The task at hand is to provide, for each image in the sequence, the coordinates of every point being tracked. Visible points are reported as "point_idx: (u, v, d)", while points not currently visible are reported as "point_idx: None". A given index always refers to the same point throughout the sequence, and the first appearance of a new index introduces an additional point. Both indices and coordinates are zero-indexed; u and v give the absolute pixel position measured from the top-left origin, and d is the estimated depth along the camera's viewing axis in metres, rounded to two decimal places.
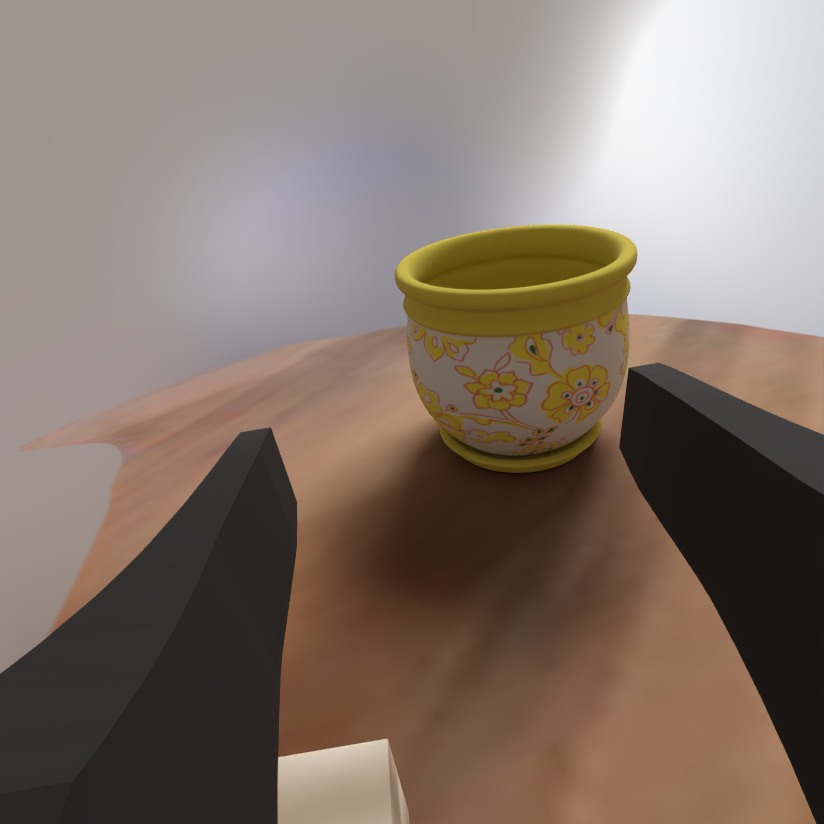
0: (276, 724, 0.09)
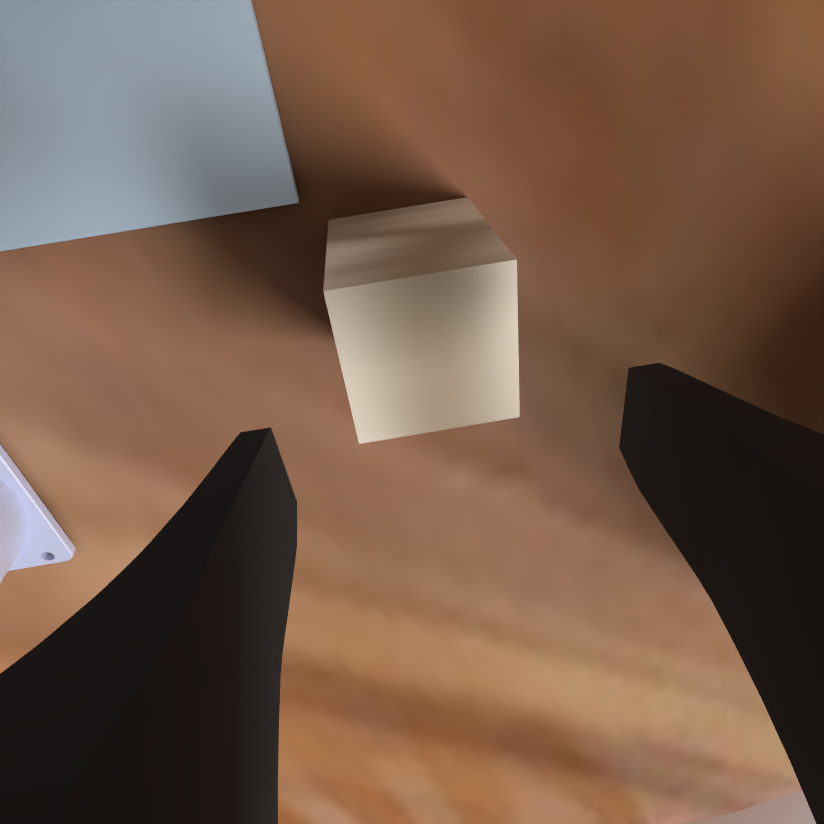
0: (276, 723, 0.09)
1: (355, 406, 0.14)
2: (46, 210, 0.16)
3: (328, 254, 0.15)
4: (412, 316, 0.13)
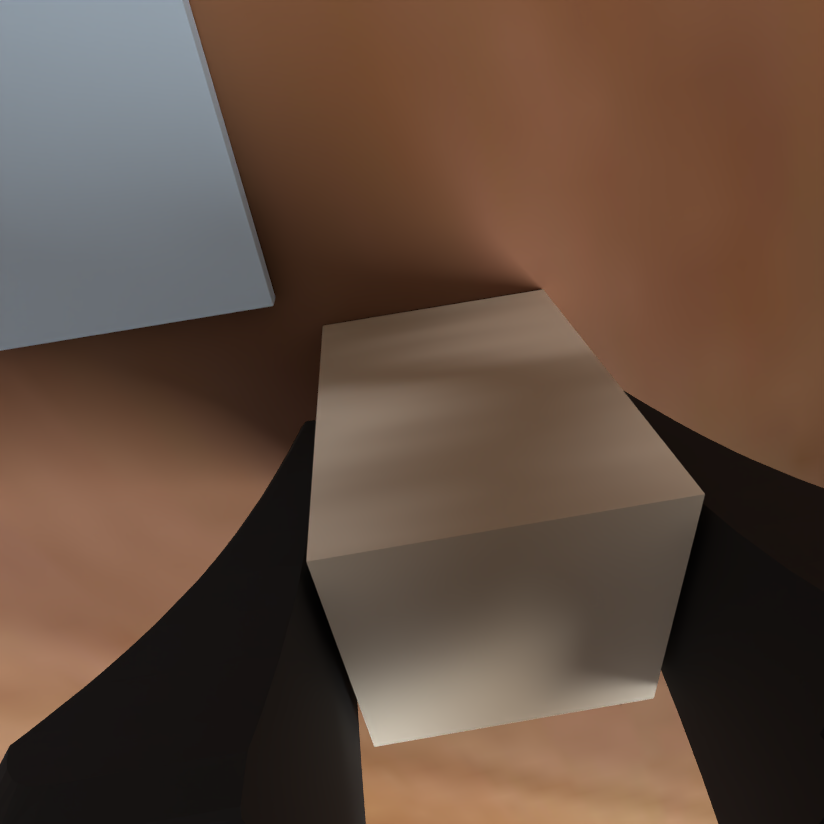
0: (356, 709, 0.09)
1: (367, 706, 0.08)
2: None
3: (320, 425, 0.08)
4: (483, 587, 0.07)
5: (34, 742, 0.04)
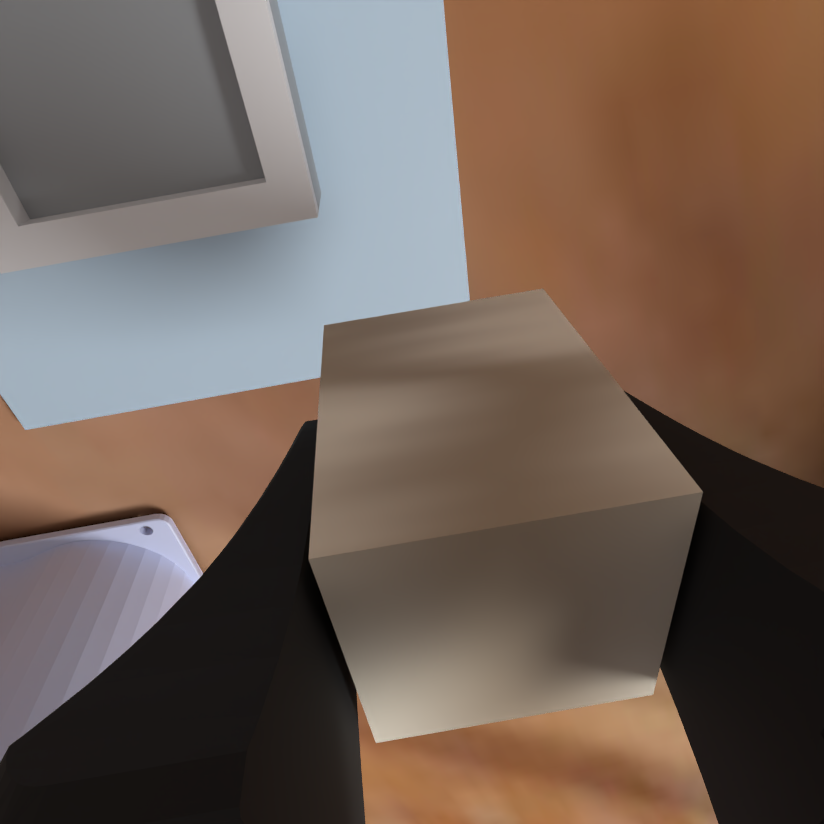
0: (356, 709, 0.09)
1: (369, 703, 0.08)
2: (264, 363, 0.19)
3: (321, 424, 0.08)
4: (484, 584, 0.07)
5: (33, 743, 0.04)
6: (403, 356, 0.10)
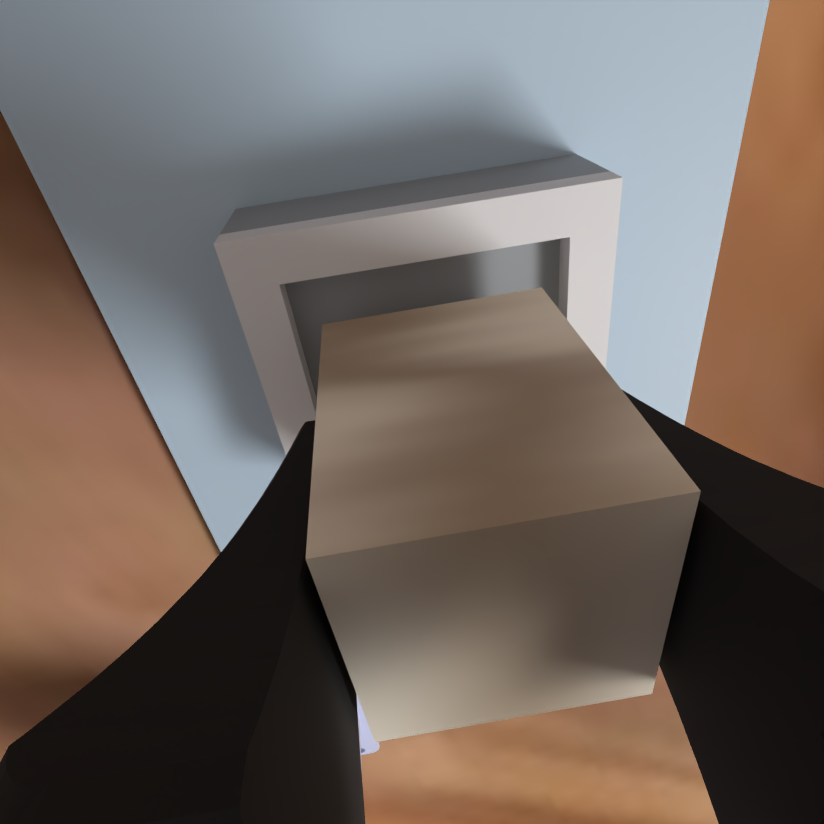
0: (355, 710, 0.09)
1: (368, 702, 0.08)
2: None
3: (319, 424, 0.08)
4: (482, 585, 0.07)
5: (33, 743, 0.04)
6: (401, 355, 0.10)
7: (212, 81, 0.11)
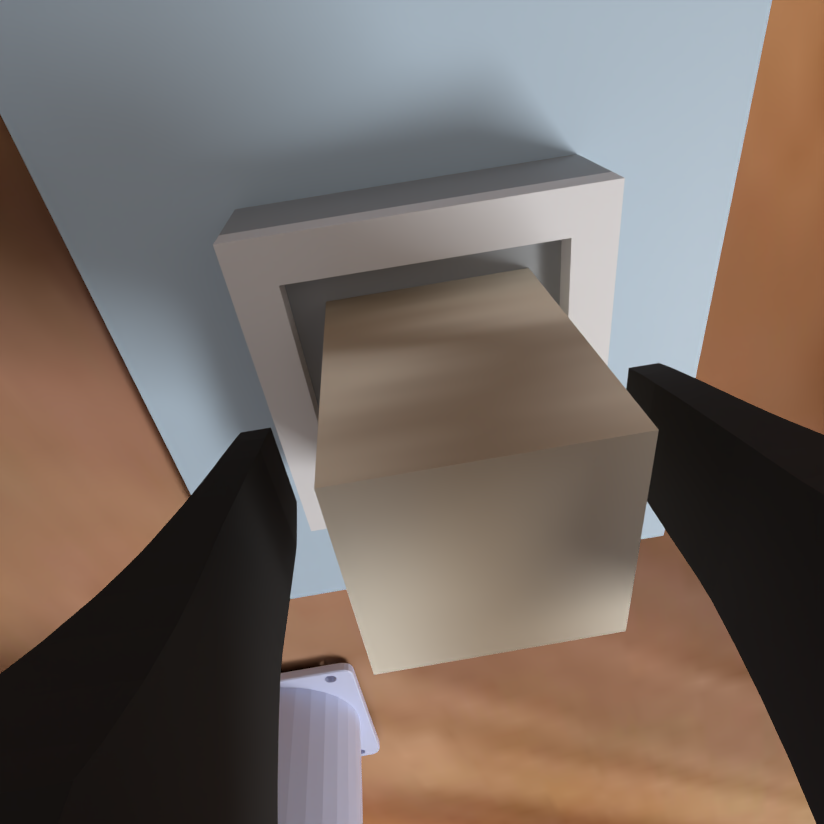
0: (276, 723, 0.09)
1: (368, 633, 0.09)
2: None
3: (324, 383, 0.09)
4: (468, 517, 0.08)
5: None
6: (399, 326, 0.10)
7: (211, 81, 0.11)
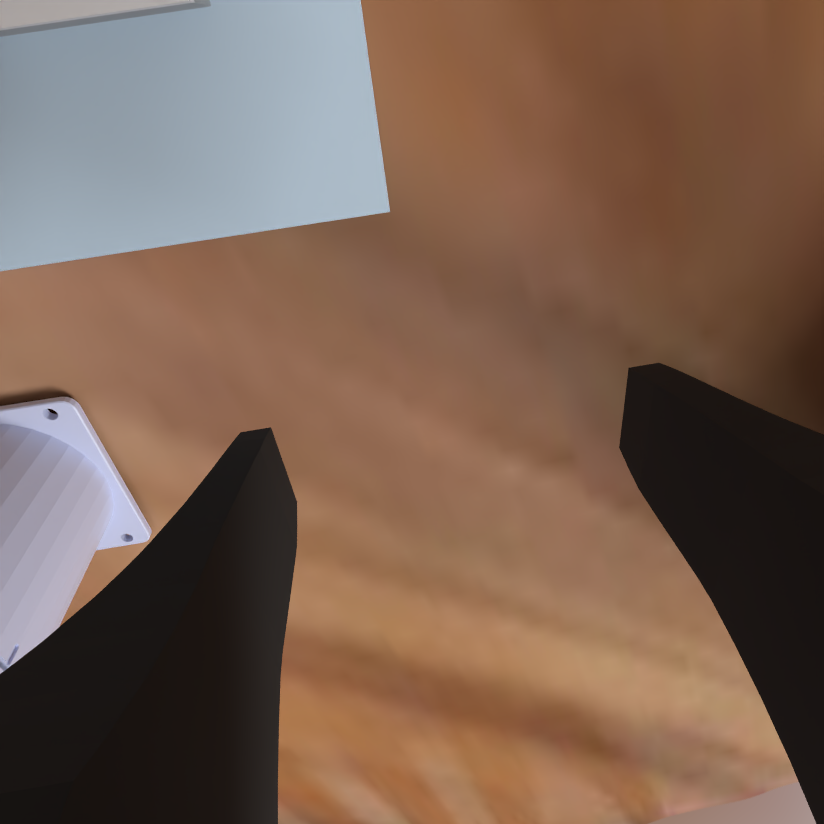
0: (276, 723, 0.09)
1: None
2: (164, 216, 0.17)
3: None
4: None
5: None
6: None
7: None
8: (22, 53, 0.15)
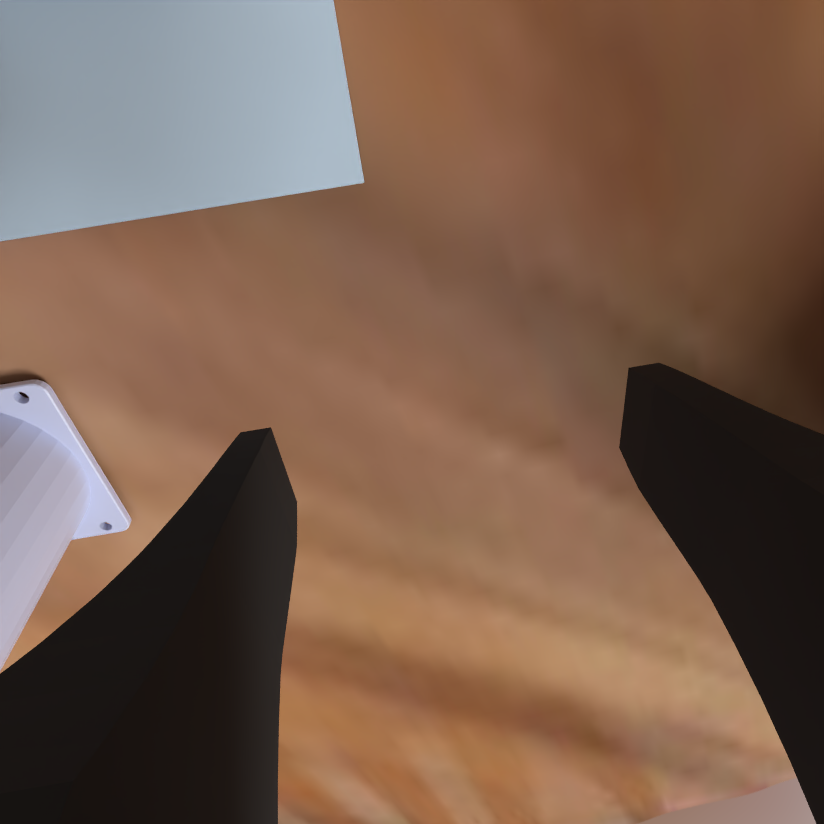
0: (276, 724, 0.09)
1: None
2: (129, 188, 0.17)
3: None
4: None
5: None
6: None
7: None
8: None
